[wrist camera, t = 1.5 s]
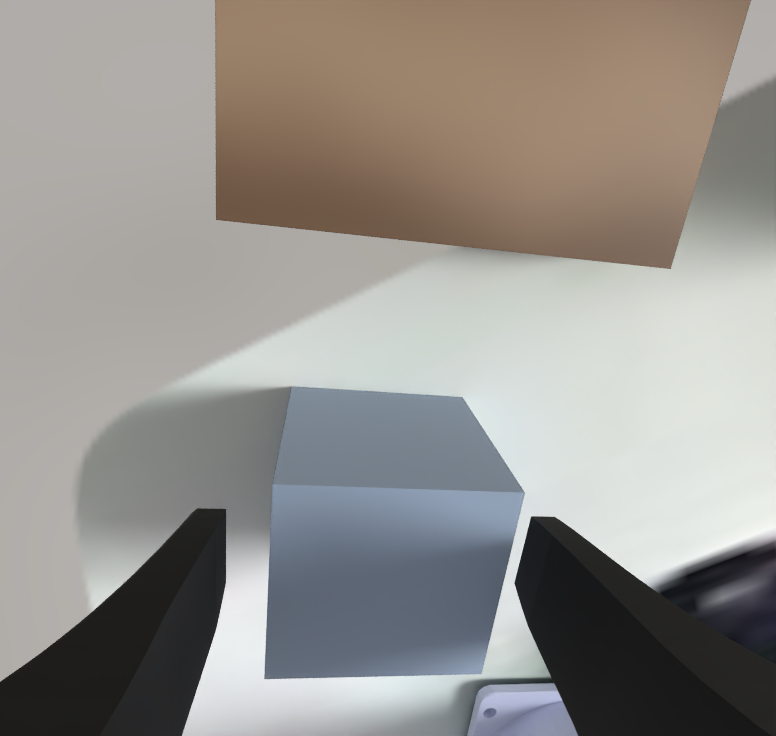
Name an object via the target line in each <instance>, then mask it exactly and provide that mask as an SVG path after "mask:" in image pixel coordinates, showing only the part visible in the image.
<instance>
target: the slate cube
mask: <svg viewBox="0 0 776 736" xmlns="http://www.w3.org/2000/svg"><path fill="white" fill-rule="evenodd" d="M524 494H525V492H524V491H523V489H522V488H521V486H520V485H519V483H518V482H517V480H516V478H515V477H514V475H513V474H512V472H511V471H510V469H509V468H508V466H507V465H506V463H505V462H504V460H503V459H502V457H501V456H500V454H499V453H498V451H497V449H496V448H495V446H494V445H493V443H492V442H491V440H490V439H489V437H488V436H487V434H486V433H485V431H484V430H483V428H482V427H481V425H480V423H479V422H478V420H477V419H476V417H475V416H474V414H473V413H472V411H471V410H470V408H469V407H468V405H467V404H466V402H465V401H464V399H463V398H462V397H450V396H434V395H418V394H403V393H387V392H371V391H355V390H340V389H324V388H308V387H292V388H291V393H290V398H289V403H288V408H287V414H286V419H285V424H284V429H283V434H282V439H281V444H280V449H279V454H278V459H277V464H276V469H275V474H274V479H273V485H272V509H271V533H270V557H269V581H268V606H267V630H266V654H265V678H264V679H286V678H329V677H372V676H415V675H458V674H482V669H483V665H484V661H485V657H486V653H487V648H488V644H489V640H490V636H491V632H492V628H493V623H494V619H495V615H496V611H497V607H498V603H499V598H500V594H501V590H502V586H503V582H504V578H505V573H506V569H507V565H508V561H509V557H510V553H511V548H512V544H513V540H514V536H515V532H516V528H517V523H518V519H519V515H520V511H521V507H522V502H523V498H524Z"/></svg>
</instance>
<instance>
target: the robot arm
mask: <svg viewBox="0 0 776 736" xmlns="http://www.w3.org/2000/svg"><path fill="white" fill-rule="evenodd" d="M225 584H226V509H200V508H198V509H196V510H195V511H194V512H193V513H192V514H191V515H190V516H189V517H188V518H187V519H186V520H185V521H184V522H183V524H182V525H181V526H180V527H179V528H178V529H177V530H176V531H175V532H174V533H173V535H172V536H171V537H170V538H169V539H168V540H167V541H166V542H165V543H164V544H163V545H162V546H161V547H160V548H159V549H158V550H157V551H156V552H155V553H154V554H153V555H152V556H151V557H150V558H149V559H148V560H147V561H146V562H145V563H144V564H143V565H142V566H141V567H140V568H139V569H138V570H137V571H136V572H135V573H134V574H133V575H132V576H131V577H130V578H129V579H128V580H127V581H126V582H125V583H124V584H123V585H122V586H120V587H119V588H118V589H117V590H116V591H115V592H114V593H113V594H112V595H111V596H109V597H108V598H107V599H106V600H105V601H104V602H103V603H102V604H101V605H100V606H98V607H97V608H96V609H95V610H94V611H93V612H91V613H90V614H89V615H88V616H87V617H86V618H84V619H83V620H82V621H81V622H80V623H79V624H77V625H76V626H75V627H74V628H72V629H71V630H70V631H69V632H67V633H66V634H65V635H64V636H62V637H61V638H60V639H58V640H57V641H56V642H55V643H53V644H52V645H51V646H50V647H48V648H47V649H46V650H44V651H43V652H42V653H40V654H39V655H38V656H36V657H35V658H33V659H32V660H31V661H29V662H28V663H27V664H25V665H24V666H22V667H21V668H19V669H18V670H17V671H15V672H14V673H12V674H11V675H9V676H8V677H6V678H5V679H4V680H2V681H1V682H0V736H182V733H183V730H184V727H185V724H186V721H187V718H188V715H189V712H190V708H191V705H192V702H193V699H194V696H195V693H196V690H197V687H198V684H199V681H200V678H201V675H202V671H203V668H204V665H205V662H206V659H207V656H208V653H209V650H210V647H211V643H212V640H213V637H214V634H215V631H216V627H217V623H218V618H219V613H220V609H221V604H222V599H223V594H224V589H225ZM515 586H516V590H517V593H518V596H519V600H520V603H521V606H522V609H523V612H524V615H525V618H526V621H527V624H528V627H529V629H530V631H531V633H532V636H533V638H534V640H535V642H536V645H537V647H538V649H539V651H540V653H541V656H542V658H543V660H544V662H545V664H546V666H547V669H548V671H549V673H550V675H551V677H552V679H553V682H554V683H539V684H500V685H487V686H485V687H482V688H481V689H480V690H479V691H478V693H477V696H476V700H475V705H474V709H473V713H472V717H471V721H470V726H469V730H468V734H467V736H776V664H774V663H772V662H770V661H768V660H766V659H764V658H762V657H761V656H759V655H757V654H755V653H753V652H751V651H750V650H748V649H746V648H744V647H743V646H741V645H739V644H737V643H736V642H734V641H732V640H730V639H729V638H727V637H726V636H724V635H722V634H721V633H719V632H717V631H716V630H714V629H712V628H711V627H709V626H707V625H706V624H704V623H702V622H701V621H699V620H698V619H696V618H694V617H693V616H691V615H690V614H688V613H687V612H685V611H684V610H682V609H681V608H679V607H678V606H676V605H675V604H673V603H672V602H670V601H669V600H667V599H666V598H665V597H663V596H662V595H660V594H659V593H657V592H656V591H654V590H653V589H652V588H650V587H649V586H647V585H646V584H645V583H643V582H642V581H640V580H639V579H638V578H636V577H635V576H634V575H632V574H631V573H629V572H628V571H627V570H625V569H624V568H623V567H621V566H620V565H619V564H617V563H616V562H615V561H614V560H612V559H611V558H610V557H608V556H607V555H606V554H604V553H603V552H602V551H600V550H599V549H598V548H596V547H595V546H594V545H593V544H591V543H590V542H589V541H587V540H586V539H585V538H583V537H582V536H581V535H579V534H578V533H577V532H575V531H574V530H573V529H571V528H570V527H569V526H567V525H566V524H564V523H563V522H562V521H560V520H559V519H557V518H555V517H532V516H531V520H530V524H529V528H528V532H527V536H526V540H525V544H524V548H523V552H522V556H521V560H520V564H519V568H518V572H517V576H516V580H515Z"/></svg>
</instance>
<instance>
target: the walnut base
mask: <svg viewBox="0 0 776 736" xmlns="http://www.w3.org/2000/svg"><path fill="white" fill-rule="evenodd" d="M750 1H751V0H215V4H216V5H215V8H216V11H215V16H216V17H215V20H216V220H224V221H233V222H242V223H251V224H260V225H270V226H279V227H288V228H297V229H306V230H317V231H325V232H334V233H344V234H353V235H362V236H371V237H380V238H390V239H399V240H408V241H418V242H427V243H437V244H445V245H454V246H464V247H473V248H482V249H491V250H501V251H510V252H519V253H528V254H538V255H547V256H556V257H565V258H575V259H584V260H593V261H602V262H612V263H621V264H630V265H639V266H649V267H658V268H667V269H671V265H672V262H673V259H674V255H675V252H676V249H677V245H678V242H679V239H680V235H681V232H682V229H683V225H684V222H685V219H686V215H687V212H688V209H689V205H690V202H691V199H692V195H693V192H694V189H695V185H696V182H697V179H698V175H699V172H700V169H701V165H702V162H703V158H704V155H705V152H706V148H707V145H708V142H709V138H710V135H711V132H712V128H713V125H714V122H715V118H716V115H717V112H718V108H719V105H720V102H721V98H722V95H723V91H724V88H725V85H726V81H727V78H728V75H729V72H730V68H731V65H732V62H733V58H734V55H735V52H736V48H737V45H738V41H739V38H740V35H741V31H742V28H743V25H744V21H745V18H746V14H747V11H748V8H749V5H750Z"/></svg>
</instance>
